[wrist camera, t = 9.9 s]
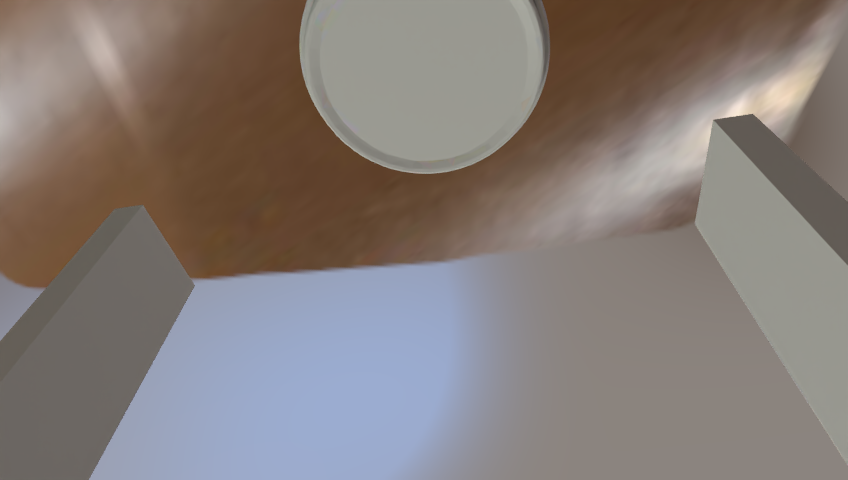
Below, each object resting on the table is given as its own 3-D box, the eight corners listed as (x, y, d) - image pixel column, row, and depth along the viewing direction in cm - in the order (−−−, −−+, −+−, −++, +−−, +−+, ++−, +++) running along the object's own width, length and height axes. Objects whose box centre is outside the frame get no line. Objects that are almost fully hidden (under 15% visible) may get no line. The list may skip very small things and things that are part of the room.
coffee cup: (337, -119, 25) (275, -83, 16) (528, -111, 25) (580, -71, 16) (349, 69, 31) (309, 176, 22) (504, 76, 31) (530, 185, 22)
